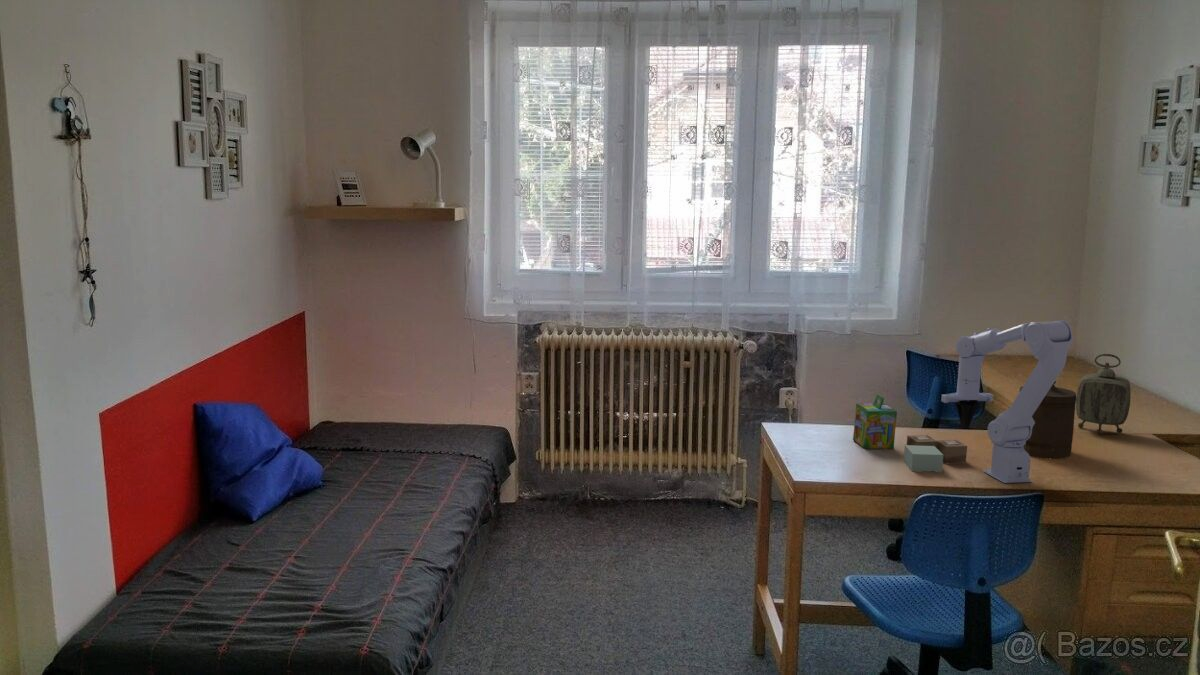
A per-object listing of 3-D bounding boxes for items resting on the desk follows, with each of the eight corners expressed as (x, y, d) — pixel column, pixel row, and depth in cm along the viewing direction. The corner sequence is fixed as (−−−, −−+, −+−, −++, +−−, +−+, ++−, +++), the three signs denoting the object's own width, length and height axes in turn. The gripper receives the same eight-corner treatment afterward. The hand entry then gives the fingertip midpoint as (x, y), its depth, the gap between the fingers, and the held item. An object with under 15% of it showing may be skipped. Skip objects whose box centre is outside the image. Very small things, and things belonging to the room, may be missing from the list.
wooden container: (1030, 441, 266) (1037, 369, 262) (1080, 453, 254) (1088, 379, 251) (1003, 449, 258) (1010, 375, 254) (1054, 462, 246) (1062, 385, 242)
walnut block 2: (965, 463, 245) (967, 445, 244) (945, 464, 244) (946, 445, 243) (954, 456, 251) (956, 439, 250) (934, 457, 250) (935, 439, 249)
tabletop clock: (1126, 433, 277) (1135, 354, 272) (1125, 440, 269) (1135, 359, 265) (1074, 426, 284) (1082, 349, 280) (1072, 432, 276) (1080, 354, 272)
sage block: (941, 472, 237) (943, 455, 236) (911, 471, 237) (912, 454, 236) (933, 463, 244) (934, 446, 244) (903, 462, 245) (904, 445, 244)
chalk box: (852, 440, 265) (855, 392, 262) (881, 440, 266) (885, 392, 263) (864, 449, 256) (867, 400, 253) (895, 449, 257) (898, 399, 254)
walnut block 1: (936, 458, 249) (937, 440, 248) (915, 458, 248) (917, 441, 247) (925, 451, 255) (927, 434, 254) (906, 452, 254) (907, 434, 253)
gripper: (984, 375, 249) (979, 421, 251) (936, 376, 246) (933, 423, 249) (999, 380, 242) (995, 428, 244) (951, 382, 240) (947, 430, 242)
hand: (964, 426), depth 246 cm, fingers closed
